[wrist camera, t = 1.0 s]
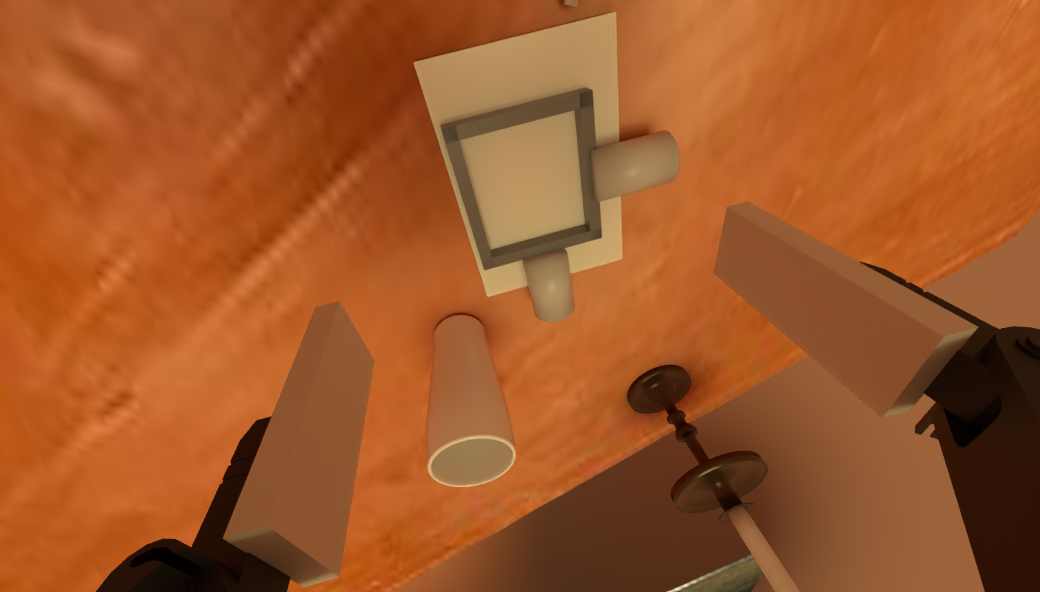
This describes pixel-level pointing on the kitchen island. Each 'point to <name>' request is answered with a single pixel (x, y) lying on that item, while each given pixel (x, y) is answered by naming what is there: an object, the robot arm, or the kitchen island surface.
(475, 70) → the coupling board
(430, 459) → the drinking glass
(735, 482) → the candlestick
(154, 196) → the kitchen island surface
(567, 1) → the pipe fitting
